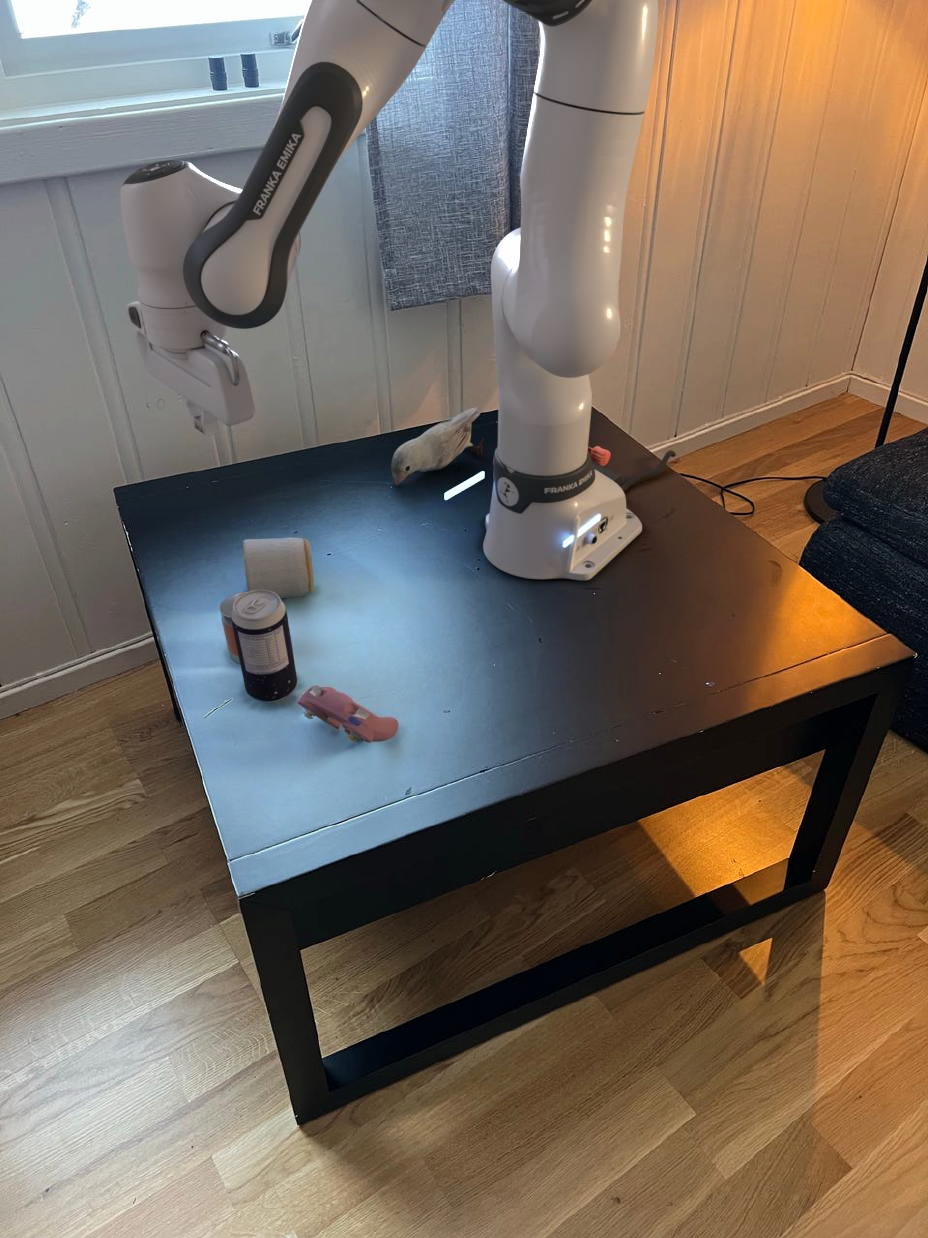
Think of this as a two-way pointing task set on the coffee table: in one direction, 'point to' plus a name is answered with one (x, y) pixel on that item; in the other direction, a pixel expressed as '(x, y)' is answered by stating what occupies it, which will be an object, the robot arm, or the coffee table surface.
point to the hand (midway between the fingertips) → (206, 431)
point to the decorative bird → (435, 446)
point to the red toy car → (347, 715)
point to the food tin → (229, 626)
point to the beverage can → (264, 645)
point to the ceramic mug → (279, 566)
